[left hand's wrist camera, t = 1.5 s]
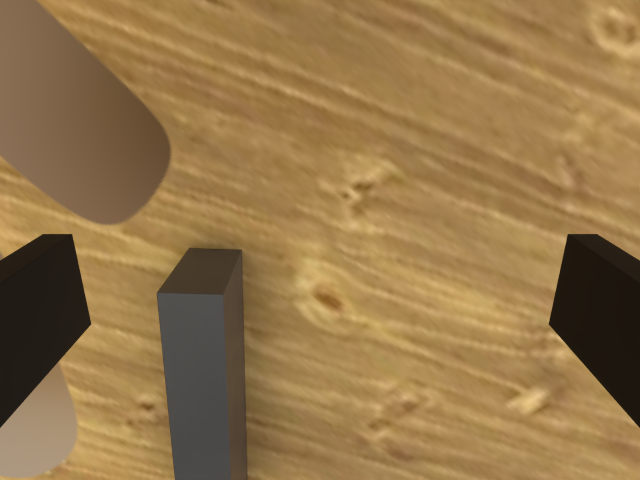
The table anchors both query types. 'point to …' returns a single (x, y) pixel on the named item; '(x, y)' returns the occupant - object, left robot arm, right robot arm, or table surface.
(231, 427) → the bar
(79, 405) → the table surface
